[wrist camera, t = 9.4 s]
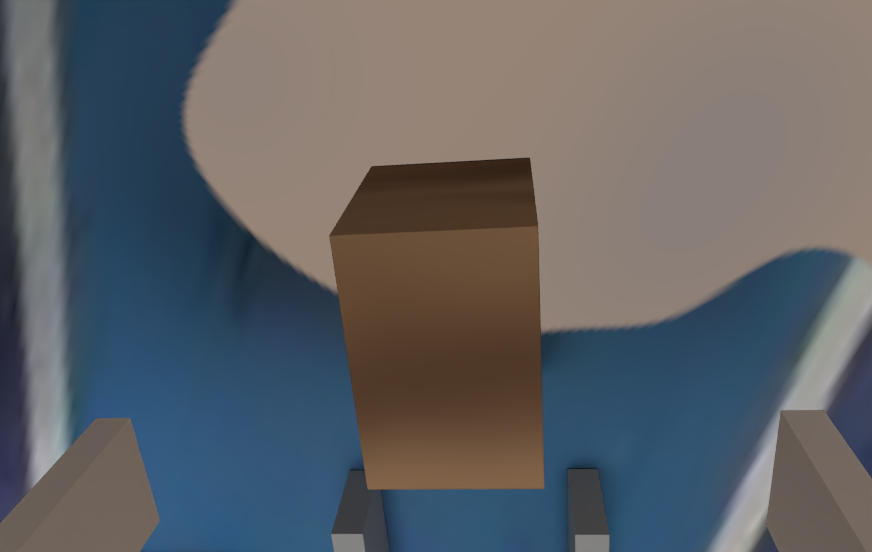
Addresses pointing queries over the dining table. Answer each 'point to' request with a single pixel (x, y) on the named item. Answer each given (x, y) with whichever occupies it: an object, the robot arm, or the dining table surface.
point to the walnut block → (444, 324)
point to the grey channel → (367, 536)
